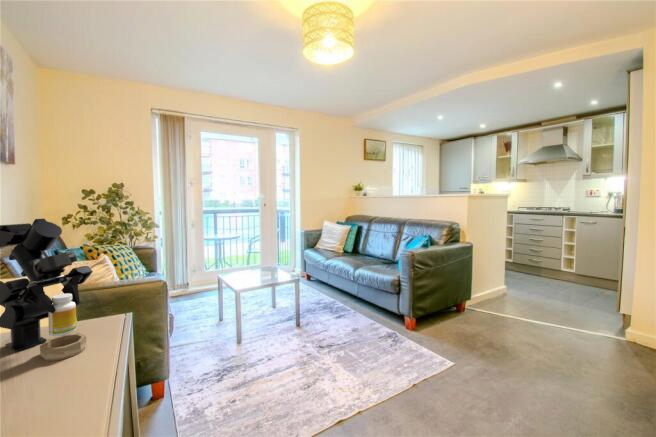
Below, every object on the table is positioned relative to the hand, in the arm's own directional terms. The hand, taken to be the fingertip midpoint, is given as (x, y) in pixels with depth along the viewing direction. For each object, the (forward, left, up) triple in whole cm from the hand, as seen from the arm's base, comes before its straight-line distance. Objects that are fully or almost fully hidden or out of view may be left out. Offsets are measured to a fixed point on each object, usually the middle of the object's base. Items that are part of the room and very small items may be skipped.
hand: (66, 307), depth 77 cm
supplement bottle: (-1, 0, -7) cm, 7 cm away
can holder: (-1, 0, -12) cm, 12 cm away
